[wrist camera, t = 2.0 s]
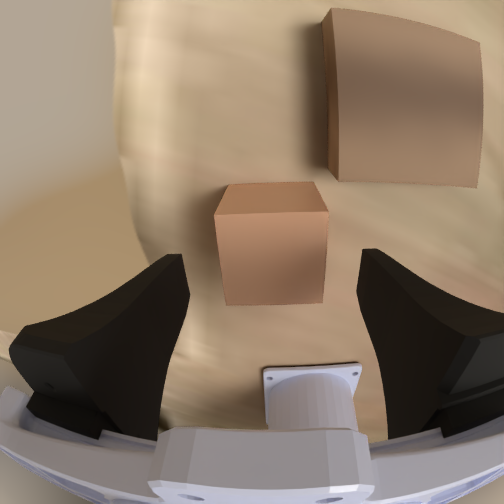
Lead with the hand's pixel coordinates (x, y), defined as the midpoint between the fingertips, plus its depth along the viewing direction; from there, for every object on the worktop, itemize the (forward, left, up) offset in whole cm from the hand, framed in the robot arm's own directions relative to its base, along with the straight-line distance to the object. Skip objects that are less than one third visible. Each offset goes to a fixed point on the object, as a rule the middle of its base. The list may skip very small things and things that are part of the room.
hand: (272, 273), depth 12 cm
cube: (0, 0, -5) cm, 5 cm away
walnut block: (+7, -7, -6) cm, 11 cm away
